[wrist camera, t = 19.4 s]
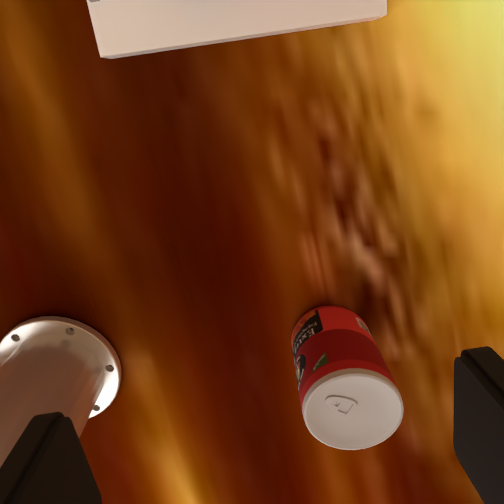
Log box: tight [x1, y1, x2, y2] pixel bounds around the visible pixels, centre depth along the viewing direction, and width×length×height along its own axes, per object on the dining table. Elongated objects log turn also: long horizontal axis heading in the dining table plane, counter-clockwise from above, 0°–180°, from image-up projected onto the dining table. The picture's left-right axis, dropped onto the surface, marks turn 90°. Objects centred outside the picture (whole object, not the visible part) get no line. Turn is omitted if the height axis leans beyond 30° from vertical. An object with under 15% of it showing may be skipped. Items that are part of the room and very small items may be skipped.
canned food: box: [291, 305, 404, 450], centre depth 38 cm, size 8×8×11 cm
